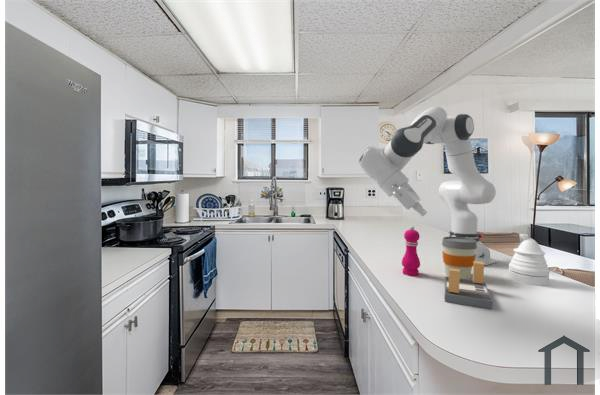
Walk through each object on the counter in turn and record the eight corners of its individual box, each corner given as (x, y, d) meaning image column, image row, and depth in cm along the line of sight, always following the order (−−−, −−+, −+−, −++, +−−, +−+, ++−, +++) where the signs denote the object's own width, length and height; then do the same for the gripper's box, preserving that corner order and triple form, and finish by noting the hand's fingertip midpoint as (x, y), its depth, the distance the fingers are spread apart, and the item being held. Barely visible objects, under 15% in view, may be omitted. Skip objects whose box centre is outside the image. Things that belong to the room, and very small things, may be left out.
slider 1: (448, 291, 99) (449, 270, 99) (448, 288, 102) (449, 268, 101) (458, 293, 98) (459, 271, 97) (458, 290, 100) (459, 269, 100)
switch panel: (444, 301, 98) (445, 293, 98) (444, 282, 116) (445, 275, 116) (492, 309, 93) (492, 300, 92) (484, 288, 111) (484, 281, 110)
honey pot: (510, 282, 118) (512, 236, 117) (506, 273, 129) (508, 231, 128) (552, 288, 112) (555, 239, 111) (544, 278, 123) (547, 233, 122)
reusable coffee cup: (480, 281, 118) (482, 243, 117) (445, 279, 120) (446, 241, 119) (469, 272, 130) (470, 237, 129) (437, 270, 133) (438, 235, 132)
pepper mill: (417, 271, 130) (418, 224, 129) (422, 276, 123) (423, 227, 122) (399, 270, 131) (401, 224, 130) (403, 276, 124) (405, 227, 123)
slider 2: (473, 282, 108) (474, 263, 108) (472, 280, 111) (473, 260, 110) (483, 283, 107) (484, 264, 106) (482, 281, 110) (483, 262, 109)
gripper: (398, 178, 95) (431, 211, 92) (406, 178, 114) (433, 206, 110) (383, 192, 98) (415, 224, 94) (393, 190, 116) (420, 217, 112)
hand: (425, 214), depth 102 cm, fingers closed
